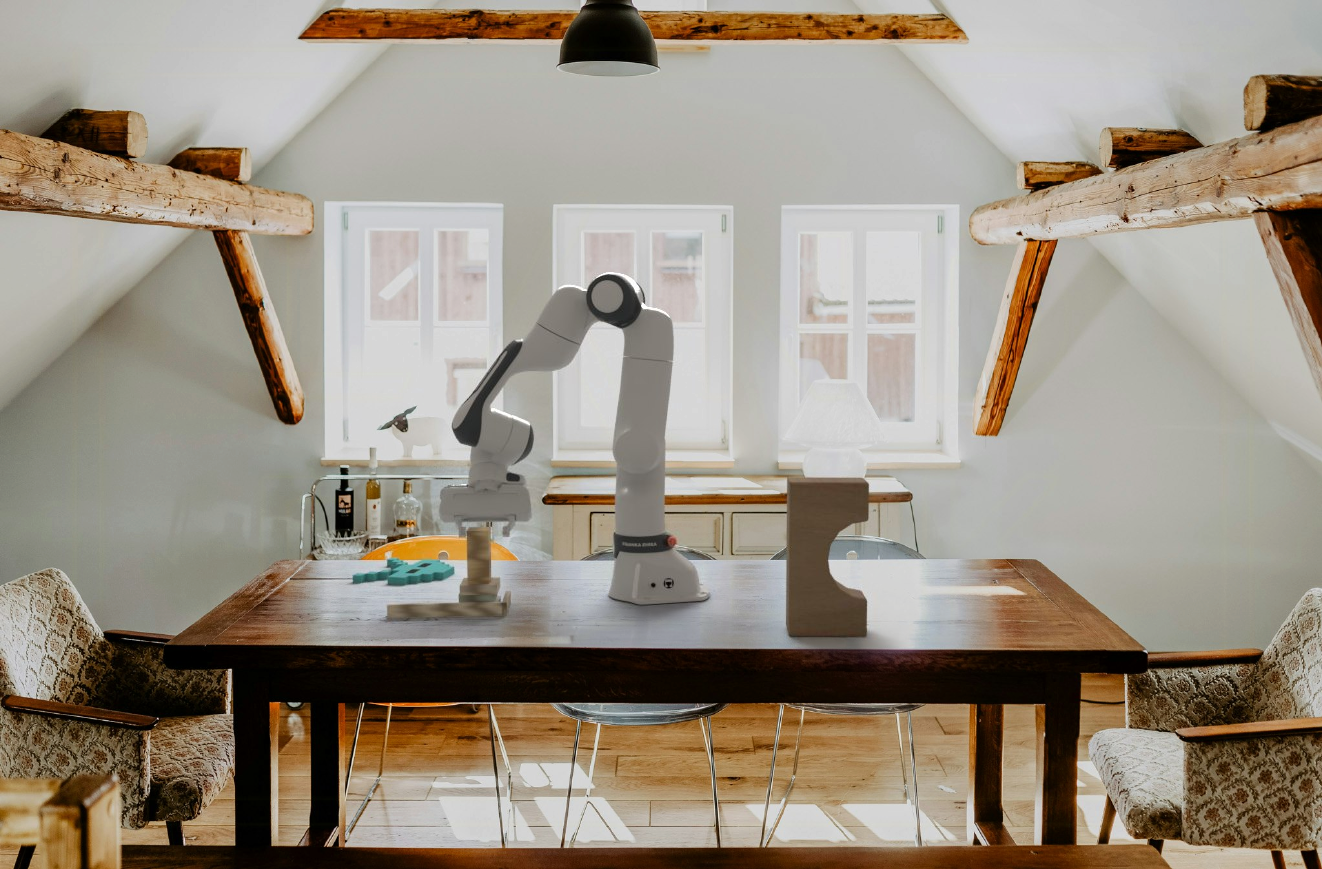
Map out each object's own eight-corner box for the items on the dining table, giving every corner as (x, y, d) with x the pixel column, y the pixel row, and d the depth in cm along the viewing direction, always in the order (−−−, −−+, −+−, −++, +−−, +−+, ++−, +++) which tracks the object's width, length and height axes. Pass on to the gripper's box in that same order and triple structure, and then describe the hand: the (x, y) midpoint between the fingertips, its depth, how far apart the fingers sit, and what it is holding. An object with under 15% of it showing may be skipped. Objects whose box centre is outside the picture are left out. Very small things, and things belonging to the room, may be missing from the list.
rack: (510, 608, 222) (510, 591, 222) (506, 621, 212) (506, 602, 212) (396, 610, 221) (396, 593, 221) (387, 623, 211) (386, 605, 211)
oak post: (491, 578, 219) (490, 526, 218) (489, 583, 214) (488, 530, 213) (470, 579, 218) (469, 527, 217) (467, 584, 214) (466, 531, 213)
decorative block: (861, 626, 208) (863, 477, 205) (867, 637, 200) (869, 482, 197) (785, 626, 208) (786, 477, 206) (788, 636, 201) (789, 482, 198)
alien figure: (352, 584, 247) (431, 588, 243) (352, 575, 247) (431, 578, 243) (391, 566, 266) (464, 569, 262) (390, 557, 266) (464, 560, 262)
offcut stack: (500, 605, 221) (500, 577, 220) (497, 613, 214) (497, 584, 213) (462, 605, 220) (462, 577, 220) (458, 614, 213) (457, 585, 213)
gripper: (439, 476, 232) (434, 528, 223) (531, 475, 234) (530, 526, 225) (442, 493, 237) (437, 544, 228) (533, 492, 239) (531, 543, 230)
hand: (484, 535), depth 227 cm, fingers open, 8 cm apart
